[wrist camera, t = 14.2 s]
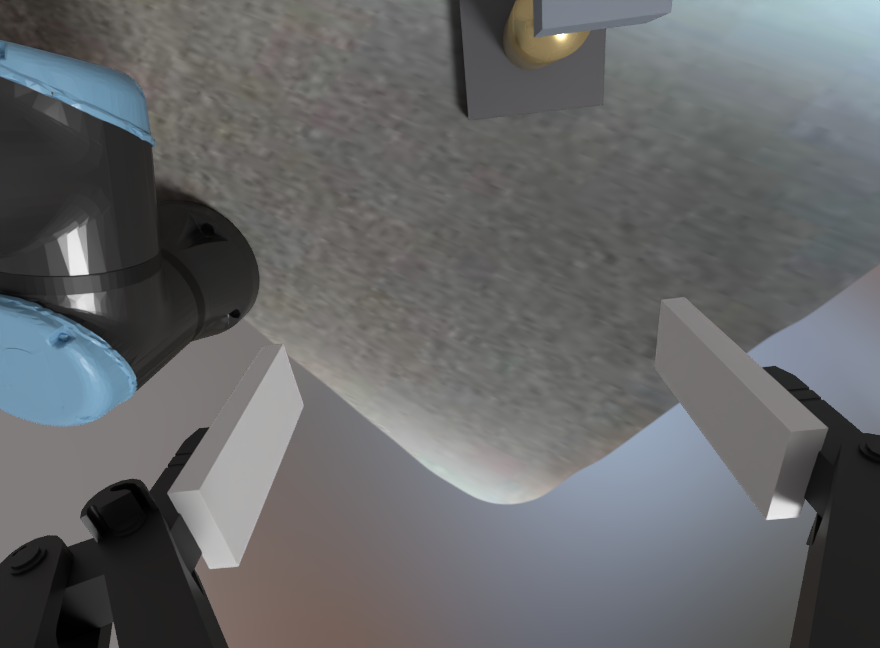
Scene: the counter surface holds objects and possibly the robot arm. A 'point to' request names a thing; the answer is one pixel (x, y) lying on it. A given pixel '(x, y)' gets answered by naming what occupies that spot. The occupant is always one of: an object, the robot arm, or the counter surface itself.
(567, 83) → the press
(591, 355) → the counter surface
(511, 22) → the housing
